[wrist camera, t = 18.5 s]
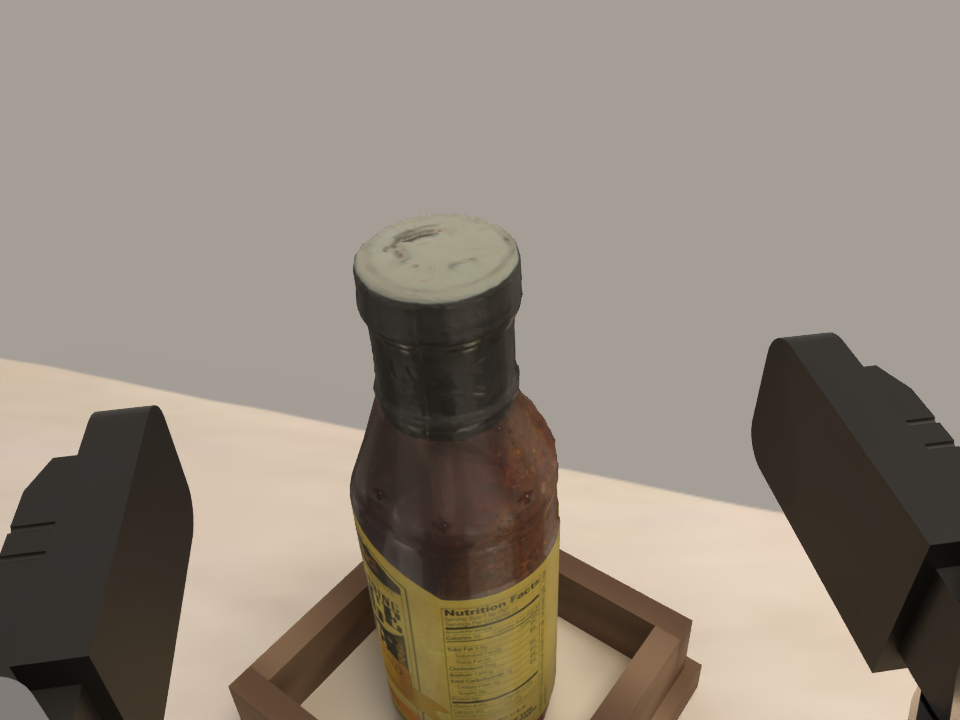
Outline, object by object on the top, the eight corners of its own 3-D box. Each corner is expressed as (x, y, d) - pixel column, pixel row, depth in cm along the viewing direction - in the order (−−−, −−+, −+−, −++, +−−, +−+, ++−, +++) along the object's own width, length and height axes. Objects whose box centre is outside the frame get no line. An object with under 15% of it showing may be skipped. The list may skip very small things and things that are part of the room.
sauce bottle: (401, 626, 36) (329, 183, 24) (553, 626, 35) (558, 177, 23) (382, 784, 30) (277, 318, 18) (560, 785, 30) (571, 312, 18)
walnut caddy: (508, 994, 27) (504, 938, 24) (235, 755, 33) (208, 689, 30) (697, 686, 35) (711, 618, 32) (447, 542, 41) (440, 475, 39)
